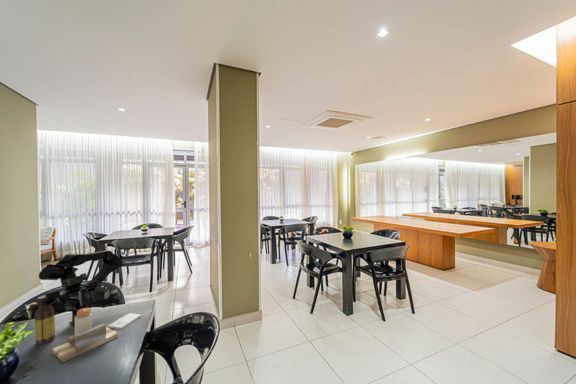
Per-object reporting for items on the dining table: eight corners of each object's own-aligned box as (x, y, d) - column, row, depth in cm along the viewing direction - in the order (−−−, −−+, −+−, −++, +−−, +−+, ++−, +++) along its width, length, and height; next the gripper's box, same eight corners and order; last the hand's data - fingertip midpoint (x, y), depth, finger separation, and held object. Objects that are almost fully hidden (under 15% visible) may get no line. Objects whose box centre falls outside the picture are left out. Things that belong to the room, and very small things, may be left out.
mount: (52, 352, 98) (52, 333, 98) (106, 329, 114) (106, 313, 114) (62, 362, 91) (62, 343, 92) (118, 336, 108) (118, 320, 108)
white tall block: (74, 339, 104) (74, 311, 104) (88, 333, 108) (88, 306, 108) (78, 342, 101) (78, 313, 101) (92, 336, 105) (92, 309, 106)
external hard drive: (141, 317, 126) (120, 330, 114) (128, 316, 128) (106, 328, 115) (141, 314, 126) (120, 327, 114) (128, 313, 128) (106, 325, 115)
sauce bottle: (57, 334, 110) (57, 292, 110) (51, 342, 104) (51, 297, 104) (38, 338, 107) (38, 295, 107) (31, 346, 101) (31, 300, 101)
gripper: (45, 275, 103) (54, 306, 97) (97, 264, 119) (107, 290, 113) (40, 289, 107) (48, 320, 101) (90, 276, 123) (99, 302, 117)
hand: (77, 307), depth 108 cm, fingers open, 3 cm apart
